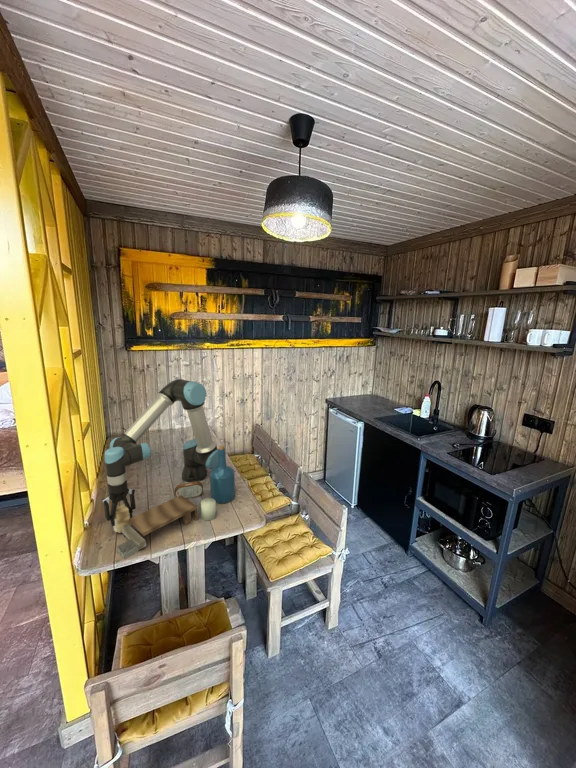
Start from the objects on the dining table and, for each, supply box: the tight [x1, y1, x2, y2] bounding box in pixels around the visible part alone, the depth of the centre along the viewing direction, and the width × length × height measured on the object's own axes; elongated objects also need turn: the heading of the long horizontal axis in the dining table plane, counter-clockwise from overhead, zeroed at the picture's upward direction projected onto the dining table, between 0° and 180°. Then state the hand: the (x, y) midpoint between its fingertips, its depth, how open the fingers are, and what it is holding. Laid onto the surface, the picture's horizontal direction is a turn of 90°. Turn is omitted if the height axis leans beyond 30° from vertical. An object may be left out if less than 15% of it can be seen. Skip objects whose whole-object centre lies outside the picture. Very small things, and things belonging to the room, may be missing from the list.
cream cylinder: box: [200, 497, 217, 522], centre depth 157 cm, size 7×7×8 cm
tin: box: [173, 481, 204, 499], centre depth 173 cm, size 15×3×8 cm, turn 111°
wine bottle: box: [209, 445, 236, 505], centre depth 170 cm, size 14×13×30 cm
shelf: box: [129, 495, 199, 537], centre depth 149 cm, size 26×14×8 cm, turn 139°
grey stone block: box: [116, 539, 139, 560], centre depth 134 cm, size 6×6×3 cm
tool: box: [115, 503, 147, 551], centre depth 140 cm, size 5×22×10 cm, turn 50°
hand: (122, 527), depth 147 cm, fingers closed on tool, 5 cm apart
